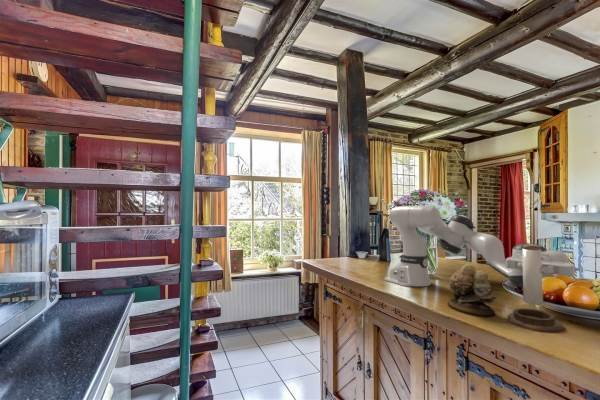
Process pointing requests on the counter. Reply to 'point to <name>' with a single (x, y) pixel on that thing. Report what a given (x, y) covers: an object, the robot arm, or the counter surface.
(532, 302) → the off-white tall cylinder
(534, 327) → the groove tray
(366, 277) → the counter surface
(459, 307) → the owl figurine
